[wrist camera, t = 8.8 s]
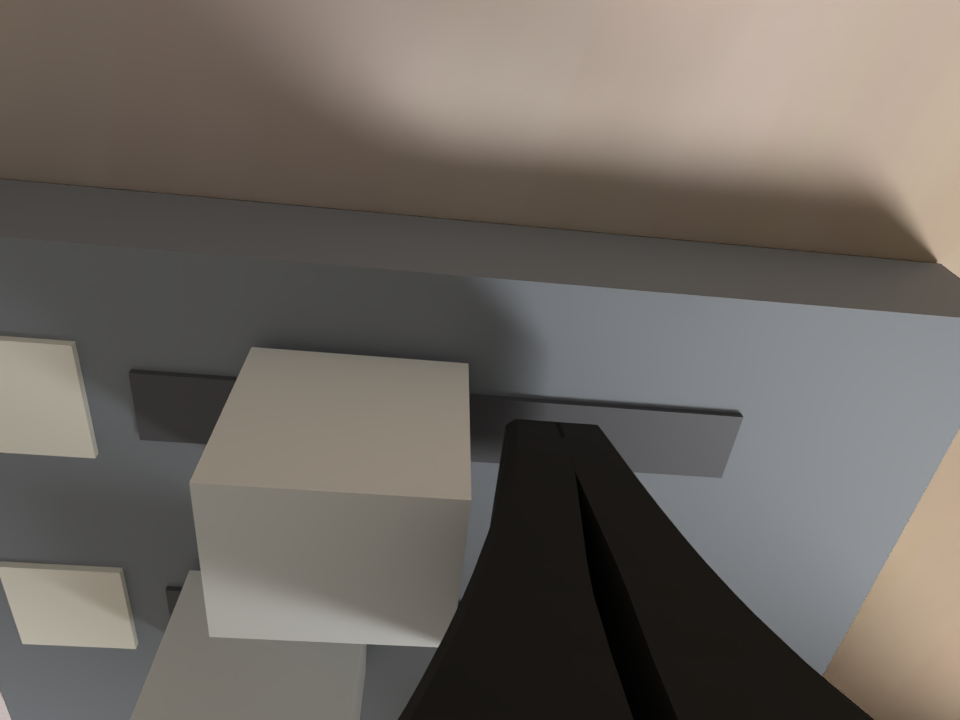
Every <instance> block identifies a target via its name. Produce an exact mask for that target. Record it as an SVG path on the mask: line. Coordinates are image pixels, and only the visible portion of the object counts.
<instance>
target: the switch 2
mask: <svg viewBox="0 0 960 720" xmlns="http://www.w3.org/2000/svg"><path fill="white" fill-rule="evenodd" d="M366 648H367V644H352V643H330V642H308V641H287V640H265V639H243V638H222V637H209V630H208V622H207V615H206V607H205V600H204V592H203V584H202V577H201V571H193V570H189V573H188V575H187V578H186V580H185V583H184V585H183V588H182V590H181V593H180V595H179V598H178V600H177V603H176V605H175V608H174V610H173V613H172V615H171V618H170V620H169V623H168V625H167V628H166V630H165V633H164V635H163V638H162V640H161V643H160V645H159V648H158V650H157V653H156V655H155V658H154V661H153V663H152V666H151V668H150V671H149V673H148V676H147V678H146V681H145V683H144V686H143V688H142V691H141V693H140V696H139V698H138V701H137V703H136V706H135V708H134V711H133V713H132V716H131V718H130V720H360V714H361V706H362V697H363V689H364V681H365V672H366Z"/></svg>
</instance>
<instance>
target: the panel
mask: <svg viewBox="0 0 960 720" xmlns="http://www.w3.org/2000/svg"><path fill="white" fill-rule="evenodd" d="M251 347H258V348H271V349H285V350H298V351H311V352H324V353H338V354H351V355H364V356H377V357H391V358H404V359H417V360H430V361H444V362H457V363H468V366H469V410H470V455H471V499H472V500H471V508H470V516H469V523H468V531H467V538H466V546H465V554H464V561H463V569H462V576H461V584H460V591H459V599H458V606H459V604H460V601H461V599H462V597H463V595H464V592H465V590H466V588H467V585H468V583H469V581H470V578H471V576H472V574H473V571H474V569H475V566H476V563H477V561H478V558H479V555H480V553H481V550H482V547H483V545H484V542H485V539H486V537H487V534H488V531H489V528H490V522H491V516H492V509H493V503H494V496H495V490H496V484H497V477H498V471H499V464H500V458H501V452H502V445H503V439H504V432H505V426H506V425H507V424H508V423H510V422H511V421H513V420H514V419H524V420H538V421H552V422H566V423H580V424H594V425H598V426H599V427H600V428H601V430H602V431H603V432H604V434H605V435H606V436H607V437H608V439H609V440H610V441H611V443H612V444H613V446H614V447H615V448H616V450H617V451H618V452H619V454H620V455H621V456H622V458H623V459H624V460H625V462H626V463H627V465H628V466H629V467H630V469H631V470H632V471H633V473H634V474H635V475H636V477H637V478H638V479H639V481H640V482H641V483H642V484H643V486H644V487H645V488H646V490H647V491H648V492H649V494H650V495H651V496H652V498H653V499H654V500H655V501H656V503H657V504H658V505H659V507H660V508H661V509H662V510H663V511H664V513H665V514H666V515H667V516H668V518H669V519H670V520H671V521H672V522H673V524H674V525H675V526H676V527H677V529H678V530H679V531H680V532H681V533H682V535H683V536H684V537H685V538H686V540H687V541H688V542H689V543H690V544H691V546H692V547H693V548H694V549H695V550H696V551H697V553H698V554H699V555H700V556H701V557H702V558H703V559H704V561H705V562H706V563H707V564H708V565H709V566H710V567H711V568H712V569H713V570H714V572H715V573H716V574H717V575H718V576H719V577H720V578H721V579H722V580H723V581H724V582H725V583H726V585H727V586H728V587H729V588H730V589H731V590H732V591H733V592H734V593H735V594H736V595H737V596H738V597H739V598H740V599H741V600H742V601H743V602H744V603H745V604H746V605H747V607H748V608H749V609H750V610H751V611H752V612H753V613H754V614H755V615H756V616H757V617H758V618H760V619H761V620H762V621H763V622H764V623H765V624H766V625H767V626H768V627H769V628H770V629H771V630H772V631H773V632H774V633H775V634H776V635H778V636H779V637H780V638H781V639H782V640H783V641H784V642H785V643H786V644H787V645H788V646H789V647H790V648H791V649H792V650H793V651H794V652H796V653H797V654H798V655H799V656H800V657H801V658H802V659H803V660H804V661H805V662H806V663H807V664H809V665H810V666H811V667H812V668H813V669H814V670H815V671H817V672H818V673H819V674H820V675H821V676H823V674H824V673H825V671H826V669H827V667H828V665H829V663H830V662H831V660H832V658H833V656H834V654H835V653H836V651H837V649H838V647H839V645H840V644H841V642H842V640H843V638H844V636H845V635H846V633H847V631H848V629H849V627H850V626H851V624H852V622H853V620H854V618H855V616H856V615H857V613H858V611H859V609H860V607H861V606H862V604H863V602H864V600H865V598H866V597H867V595H868V593H869V591H870V589H871V588H872V586H873V584H874V582H875V580H876V578H877V577H878V575H879V573H880V571H881V569H882V568H883V566H884V564H885V562H886V560H887V559H888V557H889V555H890V553H891V551H892V550H893V548H894V546H895V544H896V542H897V541H898V539H899V537H900V535H901V533H902V531H903V530H904V528H905V526H906V524H907V522H908V521H909V519H910V517H911V515H912V513H913V512H914V510H915V508H916V506H917V504H918V503H919V501H920V499H921V497H922V495H923V493H924V492H925V490H926V488H927V486H928V484H929V483H930V481H931V479H932V477H933V475H934V474H935V472H936V470H937V468H938V466H939V465H940V463H941V461H942V459H943V457H944V455H945V454H946V452H947V450H948V448H949V446H950V445H951V443H952V441H953V439H954V437H955V436H956V434H957V432H958V430H959V428H960V278H959V277H957V276H956V275H955V274H953V273H952V272H951V271H949V270H948V269H947V268H946V267H944V266H943V265H942V264H938V263H927V262H916V261H905V260H893V259H882V258H871V257H860V256H849V255H838V254H827V253H816V252H805V251H794V250H783V249H771V248H760V247H749V246H738V245H727V244H716V243H705V242H694V241H683V240H672V239H661V238H649V237H638V236H627V235H616V234H605V233H594V232H583V231H572V230H561V229H550V228H539V227H528V226H516V225H505V224H494V223H483V222H472V221H461V220H450V219H439V218H428V217H417V216H406V215H394V214H383V213H372V212H361V211H350V210H339V209H328V208H317V207H306V206H295V205H284V204H272V203H261V202H250V201H239V200H228V199H217V198H206V197H195V196H184V195H173V194H162V193H150V192H139V191H128V190H117V189H106V188H95V187H84V186H73V185H62V184H51V183H40V182H29V181H17V180H6V179H0V691H1V693H2V696H3V699H4V701H5V704H6V706H7V709H8V712H9V714H10V717H11V720H130V718H131V716H132V713H133V711H134V708H135V706H136V703H137V701H138V698H139V696H140V693H141V691H142V688H143V686H144V683H145V681H146V678H147V676H148V673H149V671H150V668H151V666H152V663H153V661H154V658H155V655H156V653H157V650H158V648H159V645H160V643H161V640H162V638H163V635H164V633H165V630H166V628H167V625H168V623H169V620H170V618H171V615H172V613H173V610H174V608H175V605H176V603H177V600H178V598H179V595H180V593H181V590H182V588H183V585H184V583H185V580H186V578H187V575H188V573H189V570H193V571H201V569H200V562H199V554H198V546H197V539H196V531H195V524H194V516H193V508H192V501H191V493H190V485H189V482H190V480H191V478H192V476H193V473H194V471H195V469H196V467H197V465H198V463H199V460H200V458H201V456H202V454H203V452H204V449H205V447H206V445H207V443H208V441H209V439H210V436H211V434H212V432H213V430H214V428H215V425H216V423H217V421H218V419H219V417H220V415H221V412H222V410H223V408H224V406H225V404H226V401H227V399H228V397H229V395H230V393H231V391H232V388H233V386H234V384H235V382H236V380H237V377H238V375H239V373H240V371H241V369H242V367H243V364H244V362H245V360H246V358H247V356H248V354H249V351H250V349H251ZM457 608H458V607H457ZM437 648H438V647H417V646H395V645H374V644H367V648H366V672H365V681H364V689H363V697H362V706H361V714H360V720H398V718H399V717H400V715H401V713H402V712H403V710H404V708H405V707H406V705H407V703H408V701H409V700H410V698H411V696H412V695H413V693H414V691H415V689H416V687H417V686H418V684H419V682H420V680H421V679H422V677H423V675H424V673H425V671H426V669H427V667H428V665H429V663H430V662H431V660H432V658H433V656H434V654H435V652H436V650H437Z"/></svg>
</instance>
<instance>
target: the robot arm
mask: <svg viewBox="0 0 960 720" xmlns="http://www.w3.org/2000/svg"><path fill="white" fill-rule="evenodd" d="M398 720H874V719H873V718H871V717H870V716H869V715H868V714H867V713H865V712H864V711H863V710H862V709H861V708H859V707H858V706H857V705H856V704H854V703H853V702H852V701H851V700H850V699H848V698H847V697H846V696H845V695H844V694H842V693H841V692H840V691H839V690H838V689H836V688H835V687H834V686H833V685H831V684H830V683H829V682H828V681H827V680H826V679H825V678H823V677H822V676H821V675H820V674H819V673H818V672H817V671H815V670H814V669H813V668H812V667H811V666H810V665H809V664H807V663H806V662H805V661H804V660H803V659H802V658H801V657H800V656H799V655H798V654H797V653H796V652H794V651H793V650H792V649H791V648H790V647H789V646H788V645H787V644H786V643H785V642H784V641H783V640H782V639H781V638H780V637H779V636H778V635H776V634H775V633H774V632H773V631H772V630H771V629H770V628H769V627H768V626H767V625H766V624H765V623H764V622H763V621H762V620H761V619H760V618H758V617H757V616H756V615H755V614H754V613H753V612H752V611H751V610H750V609H749V608H748V607H747V605H746V604H745V603H744V602H743V601H742V600H741V599H740V598H739V597H738V596H737V595H736V594H735V593H734V592H733V591H732V590H731V589H730V588H729V587H728V586H727V585H726V583H725V582H724V581H723V580H722V579H721V578H720V577H719V576H718V575H717V574H716V573H715V572H714V570H713V569H712V568H711V567H710V566H709V565H708V564H707V563H706V562H705V561H704V559H703V558H702V557H701V556H700V555H699V554H698V553H697V551H696V550H695V549H694V548H693V547H692V546H691V544H690V543H689V542H688V541H687V540H686V538H685V537H684V536H683V535H682V533H681V532H680V531H679V530H678V529H677V527H676V526H675V525H674V524H673V522H672V521H671V520H670V519H669V518H668V516H667V515H666V514H665V513H664V511H663V510H662V509H661V508H660V507H659V505H658V504H657V503H656V501H655V500H654V499H653V498H652V496H651V495H650V494H649V492H648V491H647V490H646V488H645V487H644V486H643V484H642V483H641V482H640V481H639V479H638V478H637V477H636V475H635V474H634V473H633V471H632V470H631V469H630V467H629V466H628V465H627V463H626V462H625V460H624V459H623V458H622V456H621V455H620V454H619V452H618V451H617V450H616V448H615V447H614V446H613V444H612V443H611V441H610V440H609V439H608V437H607V436H606V435H605V434H604V432H603V431H602V430H601V428H600V427H599V426H598V425H594V424H580V423H566V422H552V421H538V420H524V419H514V420H513V421H511V422H510V423H508V424H507V425H506V426H505V432H504V439H503V445H502V452H501V458H500V464H499V471H498V477H497V484H496V490H495V496H494V503H493V509H492V516H491V522H490V528H489V531H488V534H487V537H486V539H485V542H484V545H483V547H482V550H481V553H480V555H479V558H478V561H477V563H476V566H475V569H474V571H473V574H472V576H471V578H470V581H469V583H468V585H467V588H466V590H465V592H464V595H463V597H462V599H461V601H460V604H459V606H458V608H457V610H456V612H455V614H454V616H453V618H452V620H451V623H450V625H449V627H448V629H447V631H446V633H445V635H444V637H443V639H442V641H441V643H440V645H439V647H438V648H437V650H436V652H435V654H434V656H433V658H432V660H431V662H430V663H429V665H428V667H427V669H426V671H425V673H424V675H423V677H422V679H421V680H420V682H419V684H418V686H417V687H416V689H415V691H414V693H413V695H412V696H411V698H410V700H409V701H408V703H407V705H406V707H405V708H404V710H403V712H402V713H401V715H400V717H399V718H398Z"/></svg>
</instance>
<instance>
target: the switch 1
mask: <svg viewBox="0 0 960 720" xmlns="http://www.w3.org/2000/svg"><path fill="white" fill-rule="evenodd" d="M189 485H190V493H191V501H192V508H193V516H194V524H195V531H196V539H197V546H198V554H199V562H200V569H201V577H202V584H203V592H204V600H205V607H206V615H207V622H208V630H209V637H222V638H243V639H265V640H287V641H308V642H330V643H352V644H374V645H395V646H417V647H439V645H440V643H441V641H442V639H443V637H444V635H445V633H446V631H447V629H448V627H449V625H450V623H451V620H452V618H453V616H454V614H455V612H456V610H457V607H458V599H459V591H460V584H461V576H462V569H463V561H464V554H465V546H466V538H467V531H468V523H469V516H470V508H471V500H472V499H471V455H470V410H469V366H468V363H457V362H444V361H430V360H417V359H404V358H391V357H377V356H364V355H351V354H338V353H324V352H311V351H298V350H285V349H271V348H258V347H251V349H250V351H249V354H248V356H247V358H246V360H245V362H244V364H243V367H242V369H241V371H240V373H239V375H238V377H237V380H236V382H235V384H234V386H233V388H232V391H231V393H230V395H229V397H228V399H227V401H226V404H225V406H224V408H223V410H222V412H221V415H220V417H219V419H218V421H217V423H216V425H215V428H214V430H213V432H212V434H211V436H210V439H209V441H208V443H207V445H206V447H205V449H204V452H203V454H202V456H201V458H200V460H199V463H198V465H197V467H196V469H195V471H194V473H193V476H192V478H191V480H190V482H189Z"/></svg>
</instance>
